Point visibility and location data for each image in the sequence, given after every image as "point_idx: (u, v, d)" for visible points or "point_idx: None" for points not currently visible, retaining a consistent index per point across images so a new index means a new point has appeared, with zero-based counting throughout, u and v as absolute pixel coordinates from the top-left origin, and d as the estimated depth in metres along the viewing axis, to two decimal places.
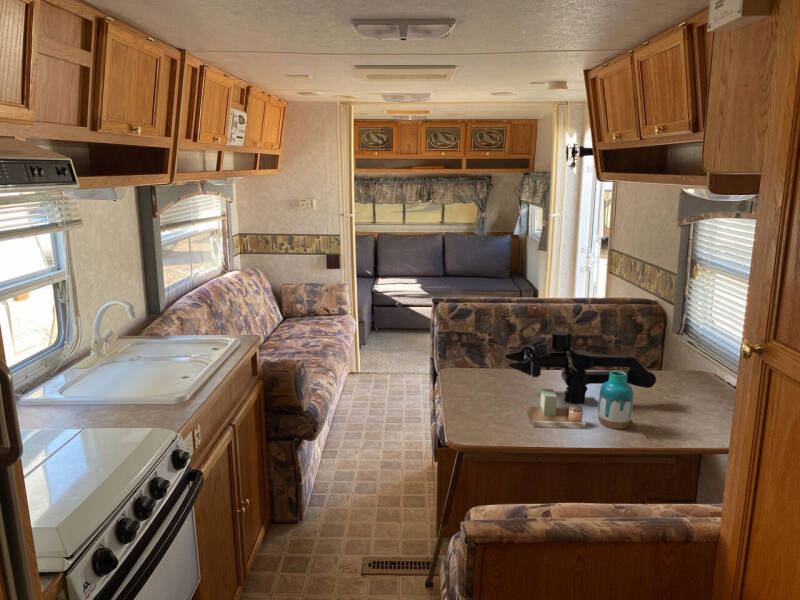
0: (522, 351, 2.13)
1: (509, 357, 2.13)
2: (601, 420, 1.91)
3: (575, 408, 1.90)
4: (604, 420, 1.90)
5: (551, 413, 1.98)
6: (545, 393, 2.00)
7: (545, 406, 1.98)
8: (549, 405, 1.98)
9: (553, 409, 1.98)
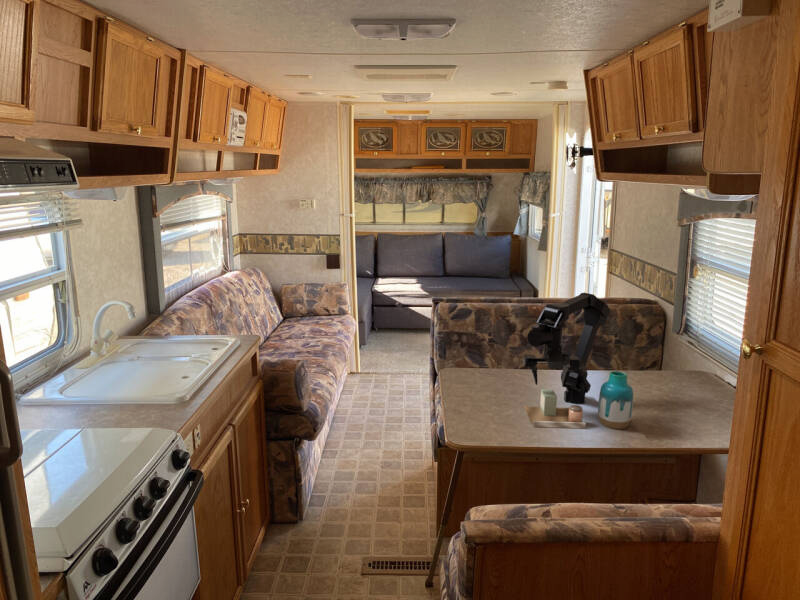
0: (536, 368, 1.97)
1: None
2: (601, 420, 1.91)
3: (575, 408, 1.90)
4: (604, 420, 1.90)
5: (551, 413, 1.98)
6: (545, 393, 2.00)
7: (545, 406, 1.98)
8: (549, 405, 1.98)
9: (553, 409, 1.98)
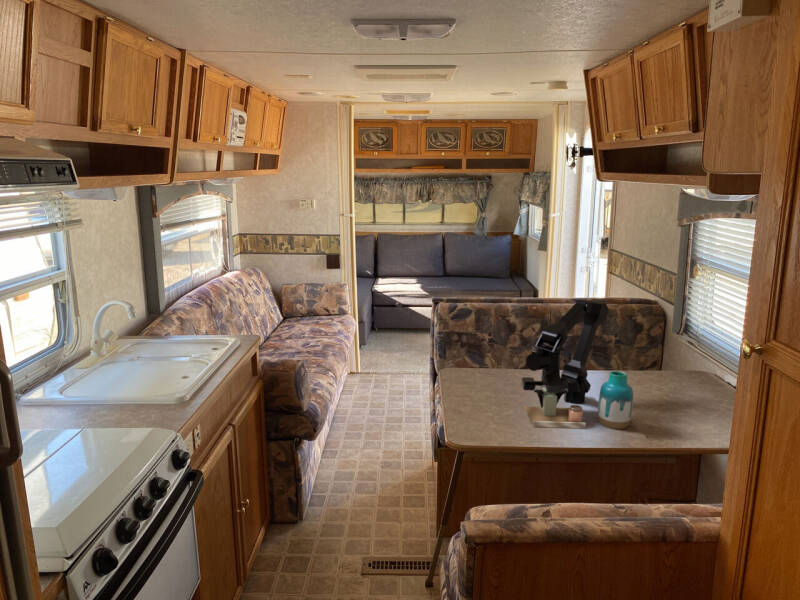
0: None
1: None
2: (601, 420, 1.91)
3: (575, 408, 1.90)
4: (604, 420, 1.90)
5: (551, 413, 1.98)
6: (545, 393, 2.00)
7: (545, 406, 1.98)
8: (549, 405, 1.98)
9: (553, 409, 1.98)
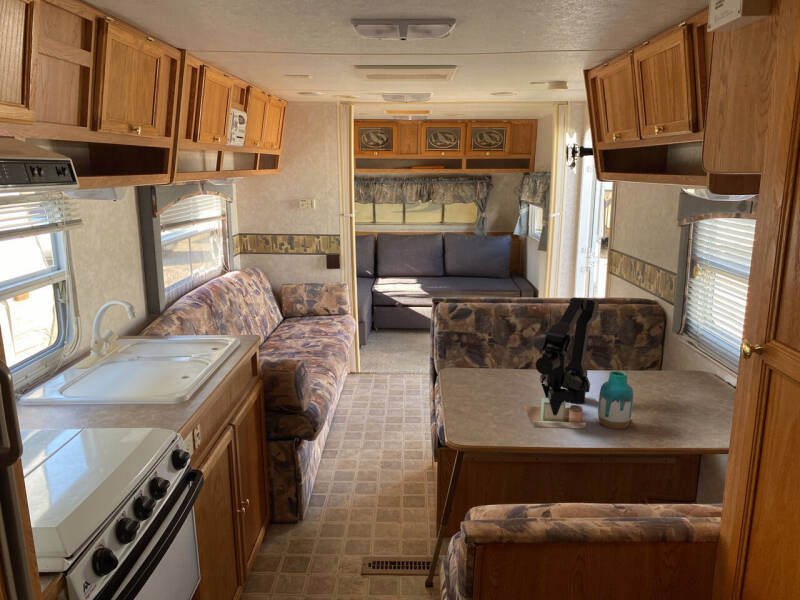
0: None
1: None
2: (601, 420, 1.91)
3: (575, 408, 1.90)
4: (604, 420, 1.90)
5: None
6: None
7: None
8: None
9: None
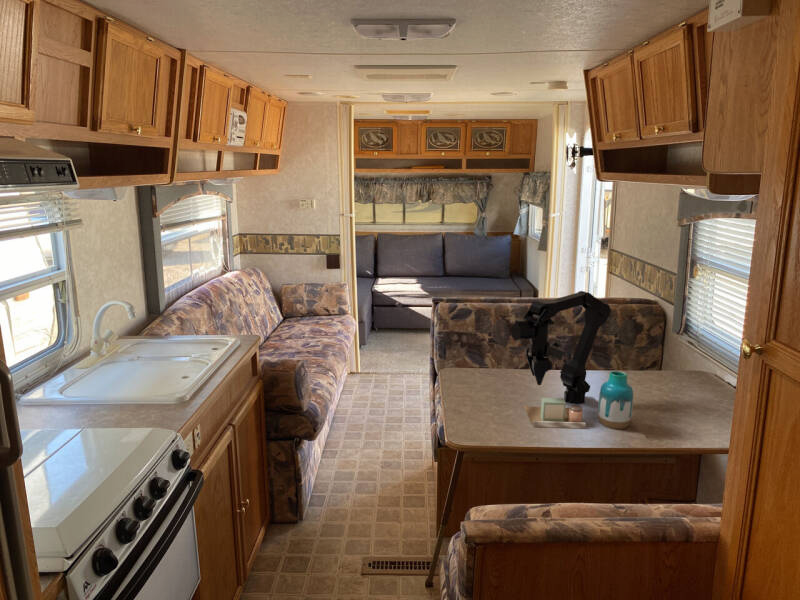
0: None
1: None
2: (601, 420, 1.91)
3: (575, 408, 1.90)
4: (604, 420, 1.90)
5: None
6: (557, 402, 1.92)
7: None
8: None
9: None
